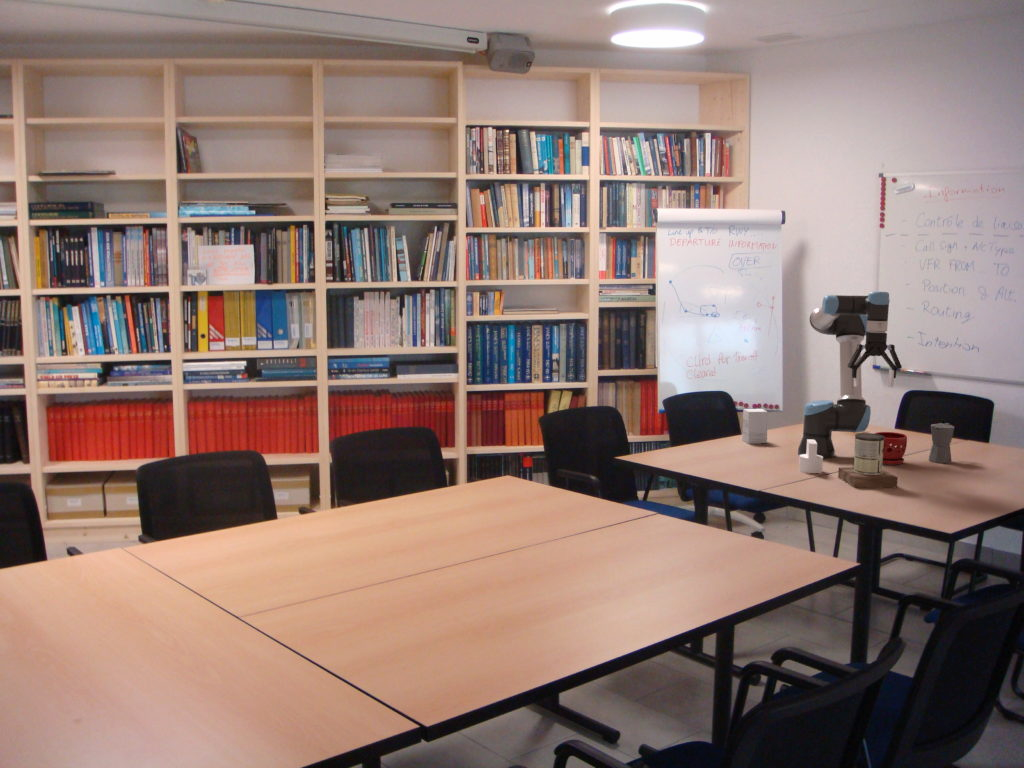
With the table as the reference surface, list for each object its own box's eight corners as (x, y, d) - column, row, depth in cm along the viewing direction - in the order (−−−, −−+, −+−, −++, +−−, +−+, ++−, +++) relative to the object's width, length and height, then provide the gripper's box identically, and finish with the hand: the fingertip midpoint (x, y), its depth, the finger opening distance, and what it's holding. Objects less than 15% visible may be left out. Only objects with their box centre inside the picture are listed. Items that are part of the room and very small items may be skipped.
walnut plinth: (838, 477, 361) (838, 467, 360) (879, 477, 361) (879, 467, 360) (854, 487, 345) (854, 477, 344) (896, 487, 345) (897, 477, 345)
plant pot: (870, 458, 396) (872, 430, 395) (904, 460, 392) (906, 432, 390) (871, 464, 384) (873, 436, 382) (906, 467, 380) (908, 438, 378)
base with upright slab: (823, 474, 366) (825, 444, 364) (799, 473, 368) (801, 443, 366) (820, 469, 375) (822, 439, 373) (797, 468, 377) (799, 438, 375)
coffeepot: (946, 465, 384) (949, 422, 381) (922, 461, 390) (925, 419, 388) (958, 459, 395) (962, 417, 392) (935, 456, 401) (938, 415, 399)
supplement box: (760, 440, 434) (762, 408, 432) (767, 443, 425) (768, 411, 423) (741, 440, 434) (742, 408, 432) (747, 444, 425) (749, 411, 423)
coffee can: (849, 468, 358) (851, 432, 356) (877, 469, 357) (879, 433, 355) (857, 474, 348) (859, 437, 346) (885, 475, 347) (888, 438, 345)
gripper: (848, 332, 355) (845, 387, 358) (913, 332, 356) (909, 388, 359) (840, 330, 363) (837, 384, 366) (904, 331, 363) (900, 385, 366)
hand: (873, 386), depth 362 cm, fingers open, 13 cm apart
